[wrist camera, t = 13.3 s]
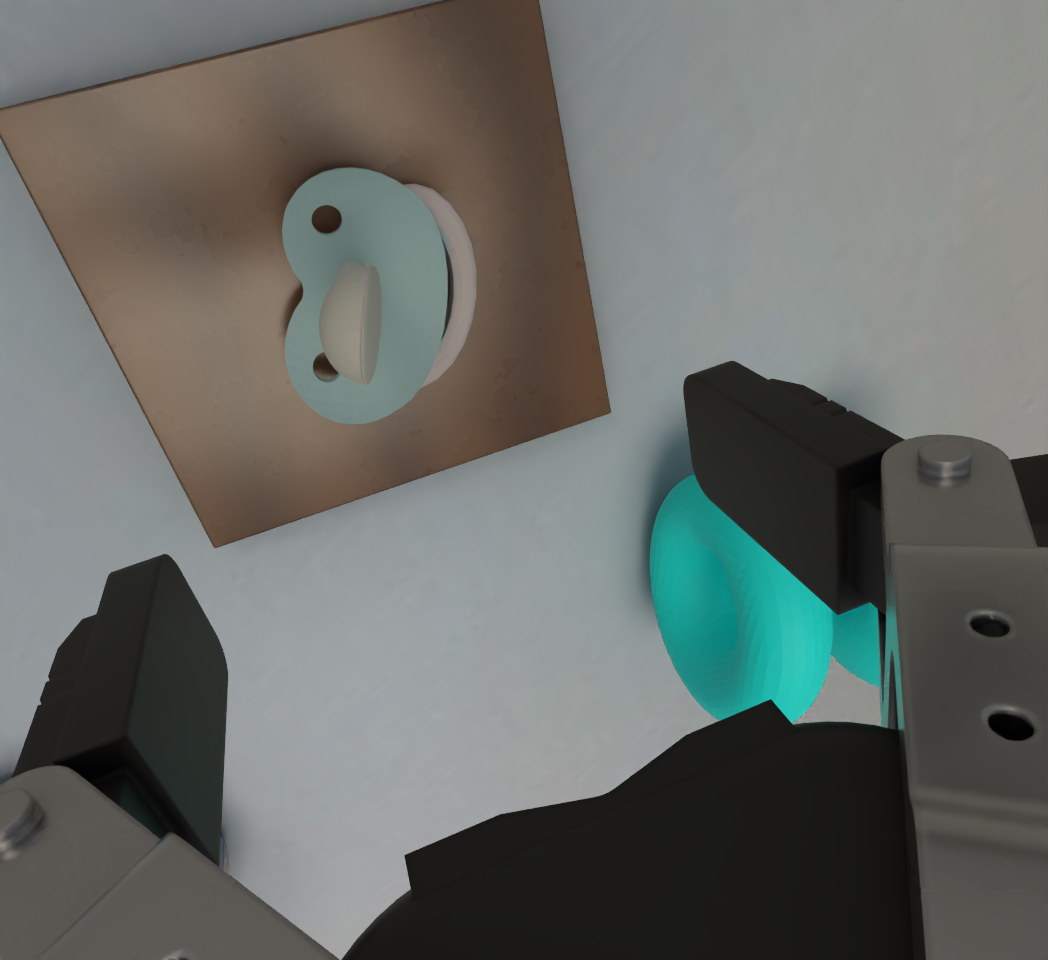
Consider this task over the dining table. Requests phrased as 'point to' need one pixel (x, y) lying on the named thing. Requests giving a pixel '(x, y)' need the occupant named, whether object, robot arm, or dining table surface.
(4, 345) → the dining table surface
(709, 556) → the donuts
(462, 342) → the pacifier
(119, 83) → the board
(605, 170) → the dining table surface
